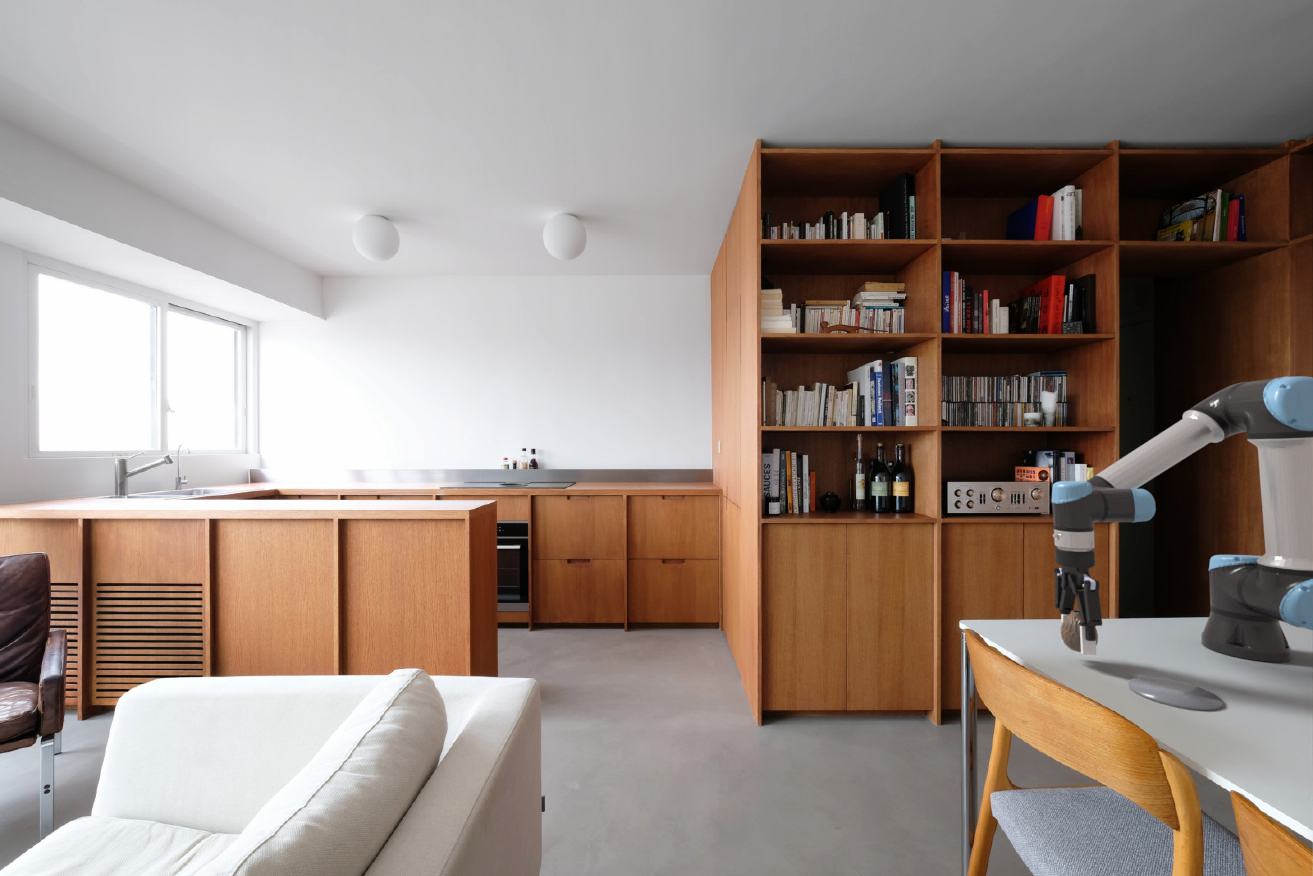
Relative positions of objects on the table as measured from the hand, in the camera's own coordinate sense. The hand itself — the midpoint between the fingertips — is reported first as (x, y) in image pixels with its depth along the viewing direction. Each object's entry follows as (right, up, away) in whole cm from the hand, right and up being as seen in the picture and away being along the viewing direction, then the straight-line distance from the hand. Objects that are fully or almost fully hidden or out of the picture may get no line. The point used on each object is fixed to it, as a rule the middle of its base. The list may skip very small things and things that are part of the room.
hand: (1078, 647), depth 132 cm
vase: (0, -1, 0) cm, 1 cm away
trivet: (+7, -3, -16) cm, 18 cm away
